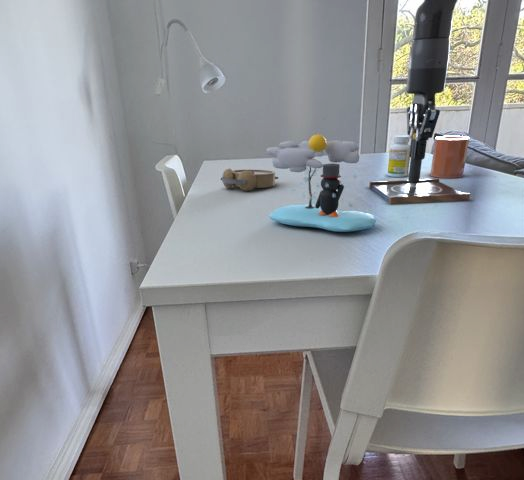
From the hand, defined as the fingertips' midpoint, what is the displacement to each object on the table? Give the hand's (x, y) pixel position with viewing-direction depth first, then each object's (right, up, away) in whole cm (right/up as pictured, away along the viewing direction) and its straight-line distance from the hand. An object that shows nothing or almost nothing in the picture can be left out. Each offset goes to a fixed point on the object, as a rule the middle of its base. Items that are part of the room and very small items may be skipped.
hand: (416, 158), depth 103 cm
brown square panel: (0, -7, +2) cm, 7 cm away
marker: (0, -5, +3) cm, 6 cm away
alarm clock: (-37, -2, +15) cm, 40 cm away
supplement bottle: (+2, +4, +22) cm, 22 cm away
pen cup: (+14, +4, +20) cm, 25 cm away
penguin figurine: (-23, -20, -18) cm, 35 cm away
